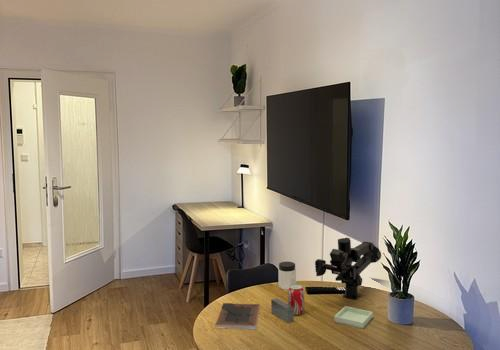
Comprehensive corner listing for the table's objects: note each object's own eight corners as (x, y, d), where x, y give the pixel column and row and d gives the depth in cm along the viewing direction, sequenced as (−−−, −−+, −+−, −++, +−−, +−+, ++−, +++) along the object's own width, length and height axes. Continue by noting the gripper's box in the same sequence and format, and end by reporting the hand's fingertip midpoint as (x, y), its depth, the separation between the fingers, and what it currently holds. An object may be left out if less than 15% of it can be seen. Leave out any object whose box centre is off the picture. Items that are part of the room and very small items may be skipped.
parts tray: (345, 311, 202) (345, 306, 201) (372, 317, 195) (372, 312, 195) (334, 322, 192) (334, 316, 191) (362, 328, 185) (362, 323, 185)
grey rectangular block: (277, 311, 203) (277, 298, 203) (294, 320, 193) (293, 307, 193) (271, 312, 202) (271, 299, 201) (287, 322, 192) (287, 309, 191)
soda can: (300, 317, 197) (299, 290, 195) (285, 313, 200) (285, 287, 199) (307, 311, 203) (307, 285, 201) (292, 308, 206) (292, 282, 205)
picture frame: (223, 308, 209) (215, 330, 188) (223, 303, 209) (215, 324, 188) (259, 309, 208) (255, 331, 186) (259, 303, 207) (255, 325, 186)
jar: (287, 291, 226) (287, 267, 224) (275, 287, 232) (275, 264, 230) (299, 286, 232) (299, 263, 231) (287, 282, 238) (286, 260, 236)
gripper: (323, 243, 212) (305, 256, 200) (360, 250, 201) (345, 263, 189) (324, 265, 215) (307, 279, 203) (362, 273, 204) (346, 288, 192)
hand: (326, 277), depth 197 cm, fingers open, 9 cm apart
